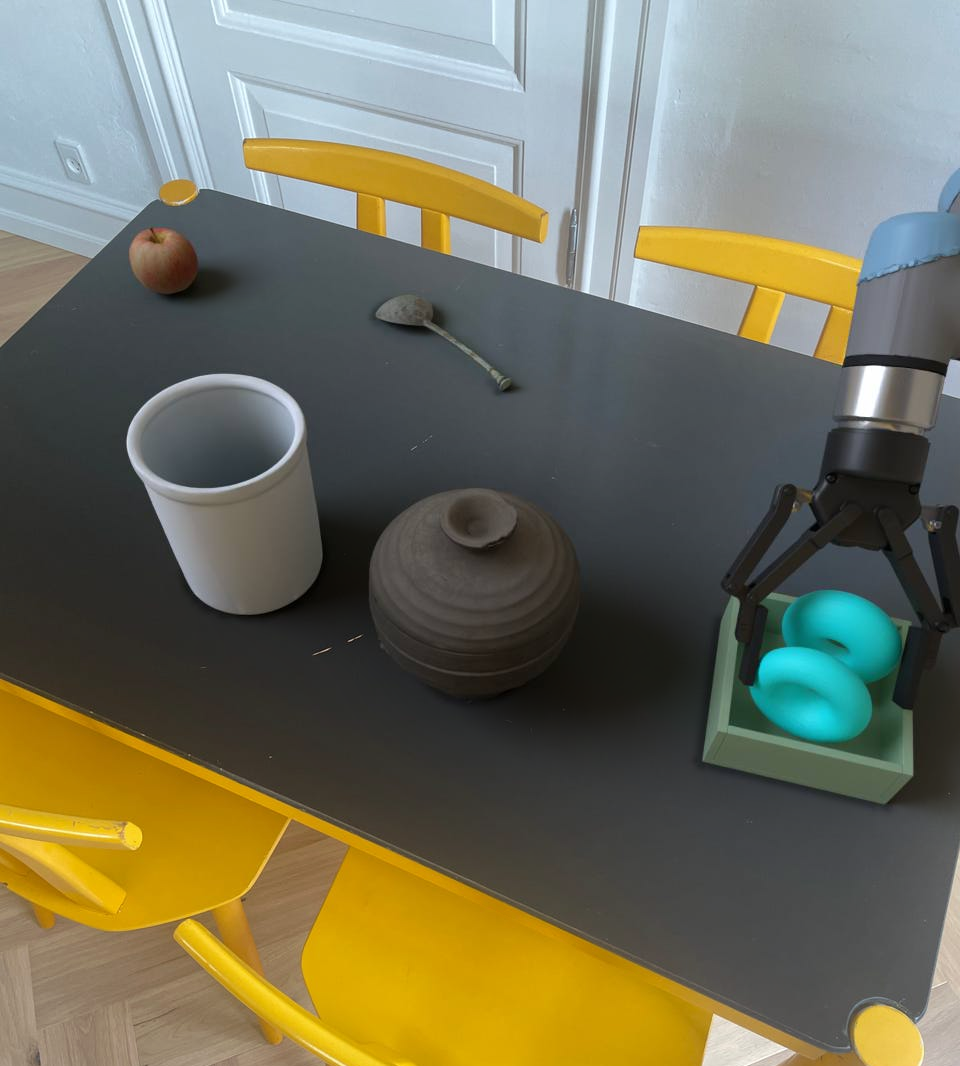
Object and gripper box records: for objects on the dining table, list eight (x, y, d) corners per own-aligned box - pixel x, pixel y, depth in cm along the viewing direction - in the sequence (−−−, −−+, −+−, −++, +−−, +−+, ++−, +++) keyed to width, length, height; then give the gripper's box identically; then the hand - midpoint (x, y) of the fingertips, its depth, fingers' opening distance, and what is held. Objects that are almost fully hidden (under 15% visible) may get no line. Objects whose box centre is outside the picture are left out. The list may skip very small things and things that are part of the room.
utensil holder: (241, 486, 95) (200, 351, 80) (358, 538, 91) (338, 406, 77) (150, 582, 88) (87, 452, 73) (273, 642, 84) (233, 518, 69)
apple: (126, 288, 114) (105, 229, 107) (175, 260, 117) (158, 202, 111) (166, 314, 111) (147, 255, 104) (215, 285, 114) (200, 226, 108)
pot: (610, 621, 85) (628, 485, 68) (510, 770, 78) (502, 661, 61) (455, 543, 91) (436, 399, 73) (349, 676, 83) (300, 551, 66)
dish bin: (886, 656, 84) (911, 621, 79) (885, 804, 76) (913, 775, 71) (720, 620, 86) (736, 584, 81) (702, 761, 78) (717, 730, 73)
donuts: (879, 683, 80) (927, 619, 72) (837, 766, 75) (884, 709, 67) (776, 631, 83) (811, 564, 74) (730, 708, 78) (762, 646, 70)
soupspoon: (407, 298, 114) (367, 322, 112) (403, 275, 112) (363, 298, 109) (526, 378, 105) (485, 405, 103) (526, 354, 102) (484, 382, 100)
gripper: (1017, 451, 72) (954, 704, 77) (716, 413, 74) (672, 662, 79) (1066, 449, 65) (994, 729, 69) (731, 407, 67) (681, 682, 71)
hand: (823, 694), depth 74 cm, fingers closed on donuts, 12 cm apart
